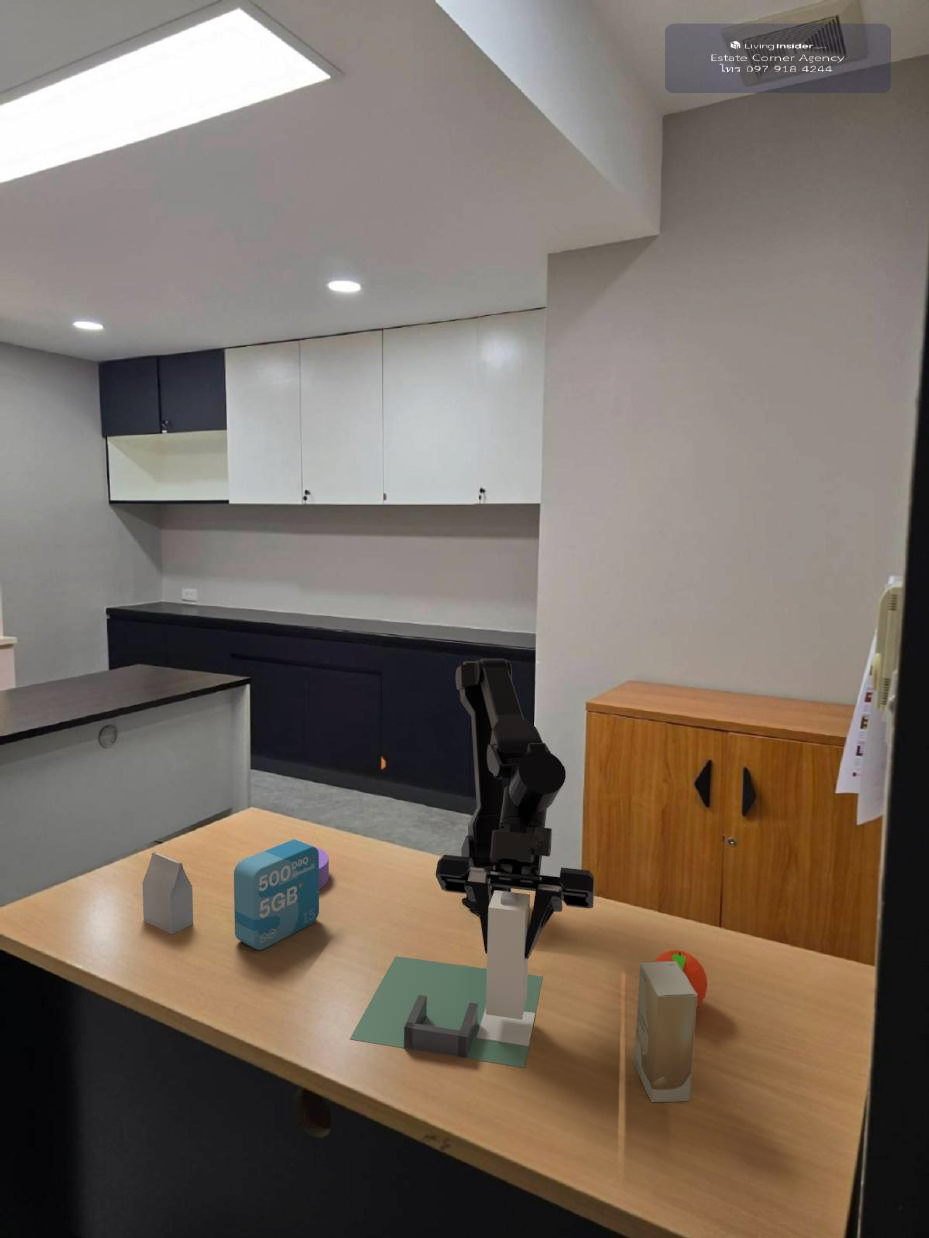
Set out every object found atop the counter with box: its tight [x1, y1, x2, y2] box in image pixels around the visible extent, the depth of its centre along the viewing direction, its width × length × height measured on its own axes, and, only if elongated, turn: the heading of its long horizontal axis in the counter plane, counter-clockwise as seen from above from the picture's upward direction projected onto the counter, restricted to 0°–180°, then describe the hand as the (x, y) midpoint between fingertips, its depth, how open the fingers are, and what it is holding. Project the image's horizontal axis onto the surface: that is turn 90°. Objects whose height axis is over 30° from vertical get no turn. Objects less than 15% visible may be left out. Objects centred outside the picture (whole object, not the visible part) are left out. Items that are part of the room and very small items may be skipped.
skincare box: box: [633, 961, 698, 1103], centre depth 82 cm, size 6×4×12 cm
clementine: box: [653, 949, 708, 1007], centre depth 95 cm, size 8×7×7 cm
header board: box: [349, 955, 543, 1069], centre depth 93 cm, size 18×20×4 cm
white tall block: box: [486, 890, 531, 1020], centre depth 89 cm, size 4×4×14 cm
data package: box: [233, 839, 320, 951], centre depth 111 cm, size 12×4×12 cm, turn 143°
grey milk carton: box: [142, 851, 194, 935], centre depth 113 cm, size 4×7×10 cm, turn 56°
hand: (506, 955), depth 88 cm, fingers closed on white tall block, 4 cm apart
